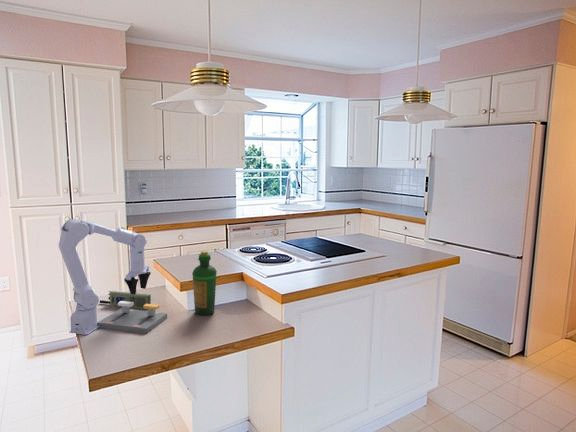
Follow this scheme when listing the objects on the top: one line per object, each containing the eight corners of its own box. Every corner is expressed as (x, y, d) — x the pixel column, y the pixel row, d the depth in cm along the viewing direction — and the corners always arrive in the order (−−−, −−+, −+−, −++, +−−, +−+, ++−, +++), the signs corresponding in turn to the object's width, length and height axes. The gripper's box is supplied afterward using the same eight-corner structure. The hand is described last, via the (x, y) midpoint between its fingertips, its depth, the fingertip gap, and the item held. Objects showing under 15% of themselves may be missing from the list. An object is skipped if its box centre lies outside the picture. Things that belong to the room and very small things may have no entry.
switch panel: (146, 333, 157) (146, 328, 156) (97, 327, 161) (97, 322, 161) (167, 317, 172) (167, 313, 172) (121, 312, 177) (121, 307, 176)
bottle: (190, 309, 182) (190, 249, 178) (214, 306, 186) (214, 248, 182) (194, 318, 172) (194, 255, 168) (219, 315, 176) (219, 253, 172)
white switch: (130, 313, 170) (130, 304, 169) (118, 312, 171) (117, 302, 170) (134, 311, 172) (133, 302, 171) (121, 310, 173) (121, 300, 173)
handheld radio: (147, 310, 180) (97, 305, 184) (151, 308, 184) (102, 303, 188) (147, 296, 180) (97, 291, 184) (151, 293, 183) (101, 289, 187)
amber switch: (156, 316, 167) (156, 307, 167) (143, 315, 169) (143, 305, 168) (159, 314, 170) (159, 305, 169) (146, 312, 171) (146, 303, 170)
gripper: (135, 266, 164) (136, 297, 166) (154, 257, 178) (155, 286, 180) (120, 264, 166) (121, 295, 168) (140, 256, 180) (141, 285, 182)
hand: (138, 291), depth 174 cm, fingers open, 7 cm apart
